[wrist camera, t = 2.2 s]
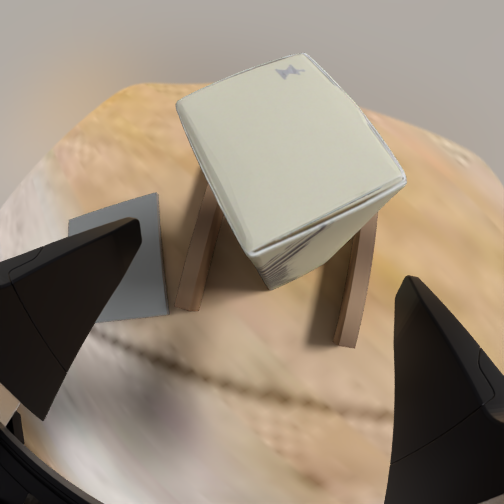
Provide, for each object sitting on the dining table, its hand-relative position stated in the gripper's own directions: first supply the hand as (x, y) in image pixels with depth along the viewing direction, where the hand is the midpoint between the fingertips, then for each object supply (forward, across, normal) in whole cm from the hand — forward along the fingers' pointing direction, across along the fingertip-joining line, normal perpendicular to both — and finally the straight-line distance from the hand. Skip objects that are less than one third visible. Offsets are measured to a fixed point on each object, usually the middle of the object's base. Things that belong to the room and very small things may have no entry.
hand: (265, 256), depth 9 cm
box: (+9, 0, +5) cm, 10 cm away
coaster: (+6, +12, +8) cm, 16 cm away
